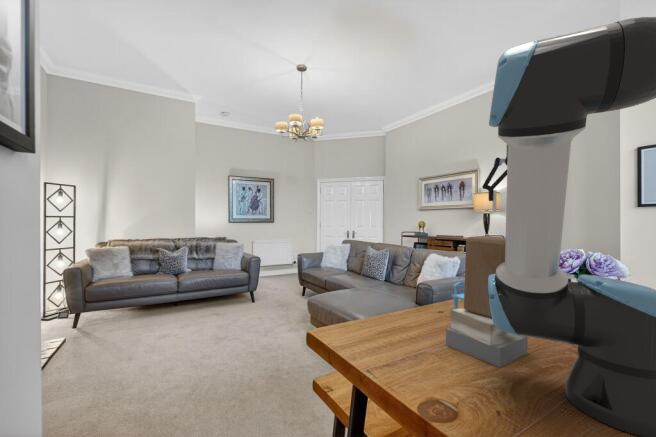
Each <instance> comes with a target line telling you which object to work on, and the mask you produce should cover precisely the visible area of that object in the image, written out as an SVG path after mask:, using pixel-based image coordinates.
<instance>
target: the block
mask: <svg viewBox="0 0 656 437" xmlns="http://www.w3.org/2000/svg"><path fill="white" fill-rule="evenodd" d="M505 238H506V236H505V237H503V236H492V235H491V236H490V235H479V236H478V235H475V236H469V237H467V238H466V240H465V242H466V243H465V267H464V268H465V269H464V270H465V271H464V282H465V287H464V286H463V293H464V300H463V308H464V309H465V310H467V311H470V312H473V313H477V314H480V315H484V316H487V317H491V318H492V316H491V310H490V303H489V292H488V277H489V275H491V274H496V269H497V267H498V266H499V265H500V264H502V263H504V262H505Z"/></svg>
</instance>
